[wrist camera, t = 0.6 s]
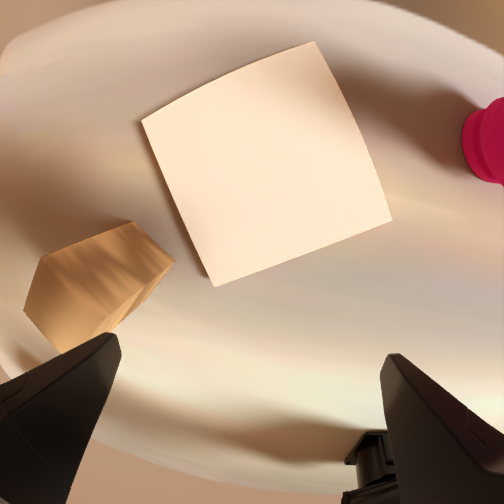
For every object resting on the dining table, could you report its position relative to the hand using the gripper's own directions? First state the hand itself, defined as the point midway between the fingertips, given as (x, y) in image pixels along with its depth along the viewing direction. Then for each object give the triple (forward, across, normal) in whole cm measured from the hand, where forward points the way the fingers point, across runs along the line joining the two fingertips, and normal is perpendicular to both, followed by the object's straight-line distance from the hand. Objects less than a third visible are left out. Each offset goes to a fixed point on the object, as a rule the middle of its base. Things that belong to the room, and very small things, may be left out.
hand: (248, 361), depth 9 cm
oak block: (+15, +11, +4) cm, 19 cm away
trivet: (+15, 0, -5) cm, 16 cm away
